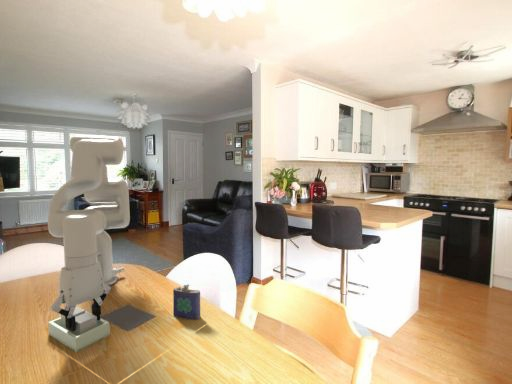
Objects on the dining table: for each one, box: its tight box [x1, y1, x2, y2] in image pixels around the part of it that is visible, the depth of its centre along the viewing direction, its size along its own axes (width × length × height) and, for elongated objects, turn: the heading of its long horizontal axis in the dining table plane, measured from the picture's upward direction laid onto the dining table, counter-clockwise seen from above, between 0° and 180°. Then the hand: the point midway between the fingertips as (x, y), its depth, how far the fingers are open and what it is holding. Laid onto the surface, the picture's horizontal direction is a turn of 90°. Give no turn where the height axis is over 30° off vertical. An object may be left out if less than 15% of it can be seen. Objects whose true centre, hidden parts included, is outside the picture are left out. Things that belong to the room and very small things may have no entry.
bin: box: [47, 310, 111, 353], centre depth 82 cm, size 9×15×4 cm, turn 58°
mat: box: [100, 304, 158, 332], centre depth 92 cm, size 10×15×1 cm, turn 58°
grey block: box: [72, 311, 97, 336], centre depth 80 cm, size 4×4×6 cm
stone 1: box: [60, 305, 86, 333], centre depth 83 cm, size 4×4×6 cm
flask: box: [172, 283, 202, 321], centre depth 92 cm, size 9×3×11 cm, turn 74°
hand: (84, 323), depth 80 cm, fingers open, 6 cm apart
